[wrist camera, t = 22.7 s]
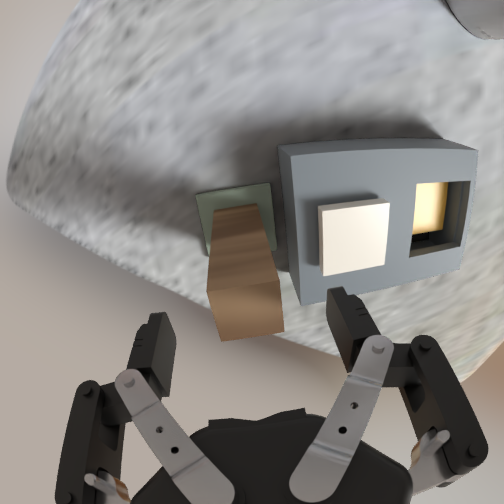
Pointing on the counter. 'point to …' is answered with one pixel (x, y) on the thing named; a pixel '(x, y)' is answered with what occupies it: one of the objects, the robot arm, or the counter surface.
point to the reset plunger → (429, 207)
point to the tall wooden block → (243, 276)
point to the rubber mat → (238, 198)
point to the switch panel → (374, 187)
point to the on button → (352, 235)
